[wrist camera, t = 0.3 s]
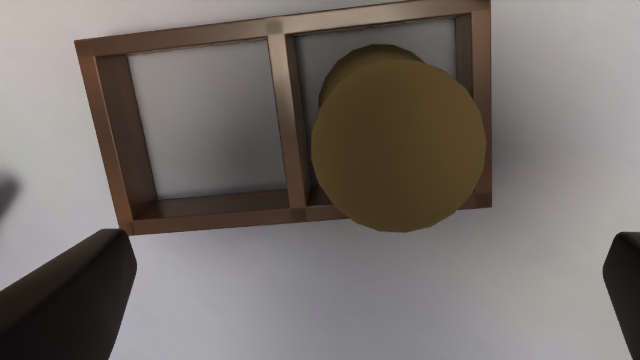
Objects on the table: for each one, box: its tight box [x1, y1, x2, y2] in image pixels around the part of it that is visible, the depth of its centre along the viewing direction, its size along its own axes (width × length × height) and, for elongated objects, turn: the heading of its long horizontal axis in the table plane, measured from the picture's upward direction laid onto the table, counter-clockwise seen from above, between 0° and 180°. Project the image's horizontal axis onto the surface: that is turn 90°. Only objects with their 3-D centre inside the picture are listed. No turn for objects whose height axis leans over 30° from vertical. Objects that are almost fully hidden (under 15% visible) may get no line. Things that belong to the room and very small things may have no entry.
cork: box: [311, 44, 487, 233], centre depth 18 cm, size 6×6×11 cm
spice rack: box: [74, 0, 492, 236], centre depth 22 cm, size 9×18×3 cm, turn 96°
